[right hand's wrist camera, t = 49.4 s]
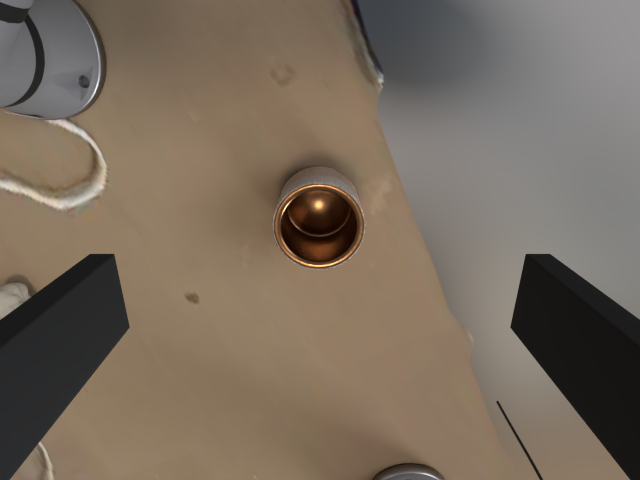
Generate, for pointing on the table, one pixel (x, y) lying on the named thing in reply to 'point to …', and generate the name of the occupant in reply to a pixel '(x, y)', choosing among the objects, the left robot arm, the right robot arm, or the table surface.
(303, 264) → the planter
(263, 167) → the table surface
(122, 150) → the table surface
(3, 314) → the dog toy
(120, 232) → the table surface
